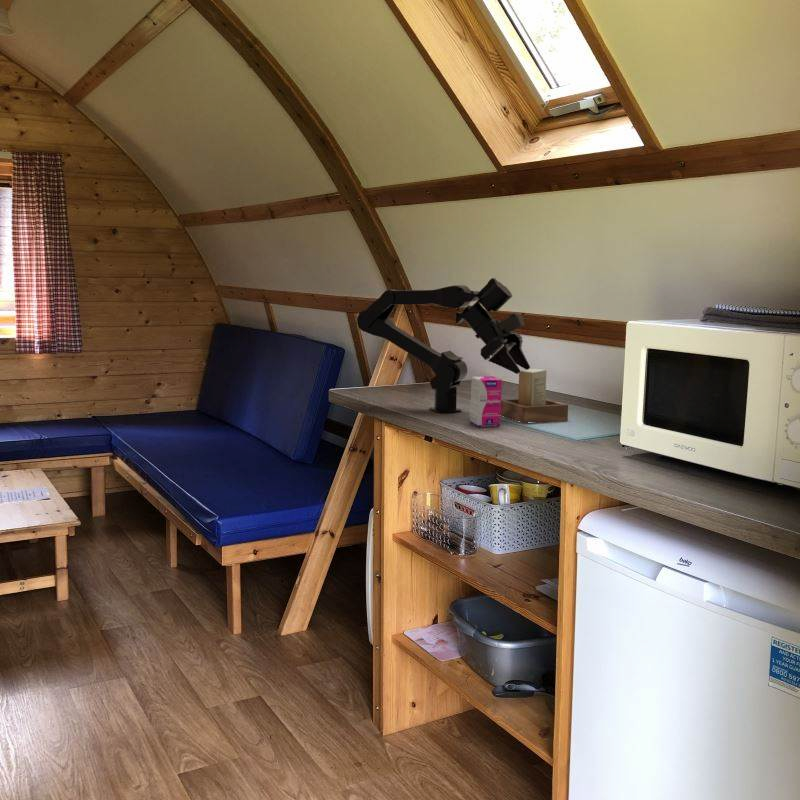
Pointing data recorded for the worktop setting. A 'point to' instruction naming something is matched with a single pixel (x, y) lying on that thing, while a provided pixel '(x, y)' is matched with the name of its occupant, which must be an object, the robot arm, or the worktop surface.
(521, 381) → the skincare box
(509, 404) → the shallow wooden tray
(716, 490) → the worktop surface
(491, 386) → the supplement box
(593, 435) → the worktop surface
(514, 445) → the worktop surface
